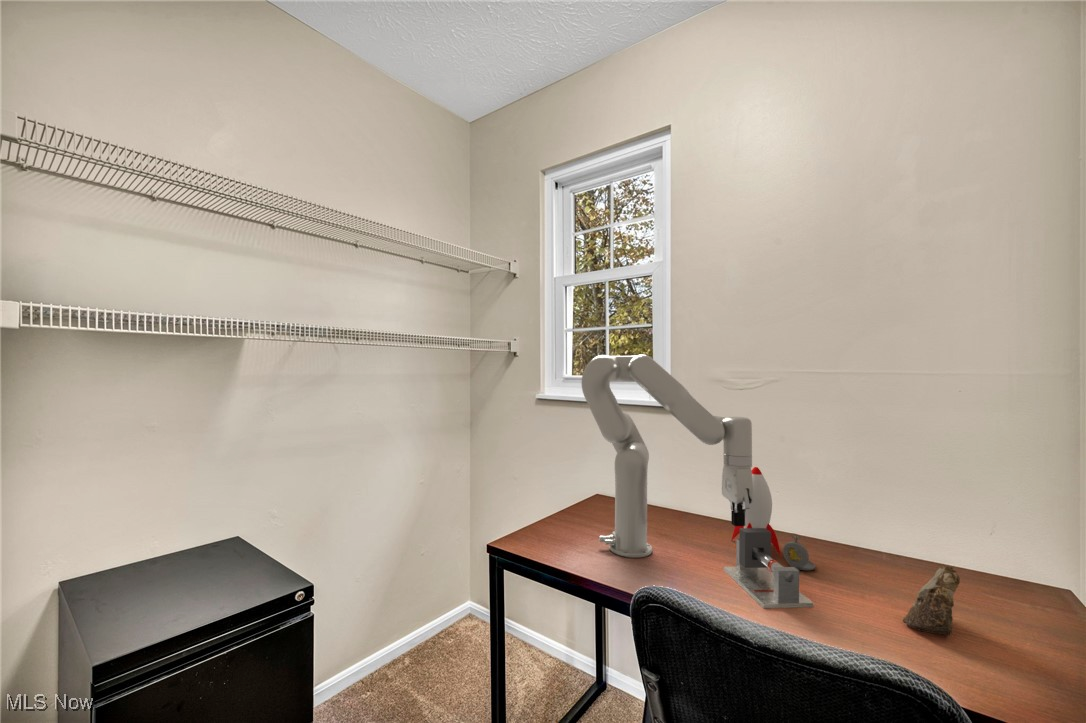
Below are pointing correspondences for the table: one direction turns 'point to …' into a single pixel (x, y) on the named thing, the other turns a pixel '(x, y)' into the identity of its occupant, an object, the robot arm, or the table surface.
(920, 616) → the rock
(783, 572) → the machine vise
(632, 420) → the robot arm
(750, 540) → the collar
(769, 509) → the rocket
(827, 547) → the table surface
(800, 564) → the pocket watch
